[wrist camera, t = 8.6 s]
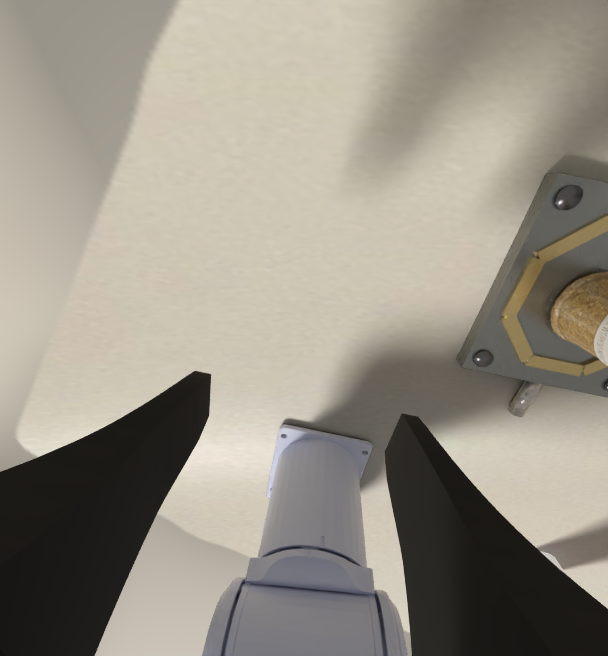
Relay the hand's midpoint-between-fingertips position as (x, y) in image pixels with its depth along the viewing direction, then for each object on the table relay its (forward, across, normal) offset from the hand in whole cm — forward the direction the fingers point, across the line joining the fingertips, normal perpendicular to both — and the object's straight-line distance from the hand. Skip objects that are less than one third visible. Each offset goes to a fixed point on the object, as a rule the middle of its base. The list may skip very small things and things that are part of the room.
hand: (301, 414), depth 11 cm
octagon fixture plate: (+10, -16, -3) cm, 19 cm away
